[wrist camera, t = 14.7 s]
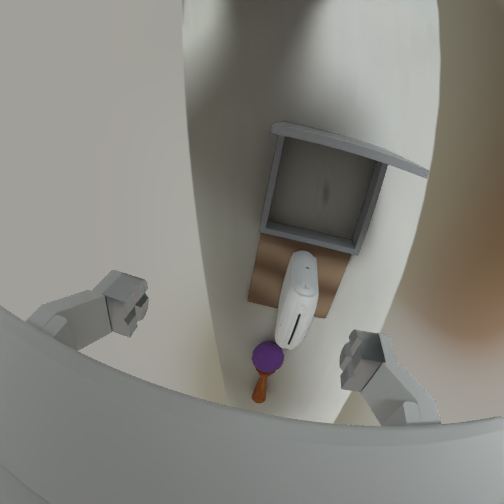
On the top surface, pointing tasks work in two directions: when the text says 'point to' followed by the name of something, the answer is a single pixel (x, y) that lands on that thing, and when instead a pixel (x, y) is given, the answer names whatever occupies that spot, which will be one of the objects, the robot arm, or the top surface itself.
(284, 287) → the photo printer
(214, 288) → the top surface
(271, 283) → the walnut board
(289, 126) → the equipment case
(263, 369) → the maraca
